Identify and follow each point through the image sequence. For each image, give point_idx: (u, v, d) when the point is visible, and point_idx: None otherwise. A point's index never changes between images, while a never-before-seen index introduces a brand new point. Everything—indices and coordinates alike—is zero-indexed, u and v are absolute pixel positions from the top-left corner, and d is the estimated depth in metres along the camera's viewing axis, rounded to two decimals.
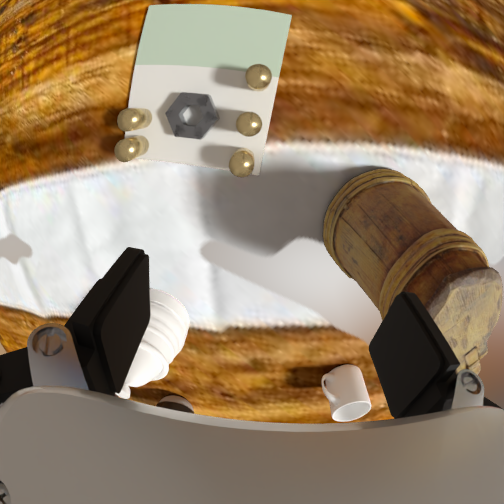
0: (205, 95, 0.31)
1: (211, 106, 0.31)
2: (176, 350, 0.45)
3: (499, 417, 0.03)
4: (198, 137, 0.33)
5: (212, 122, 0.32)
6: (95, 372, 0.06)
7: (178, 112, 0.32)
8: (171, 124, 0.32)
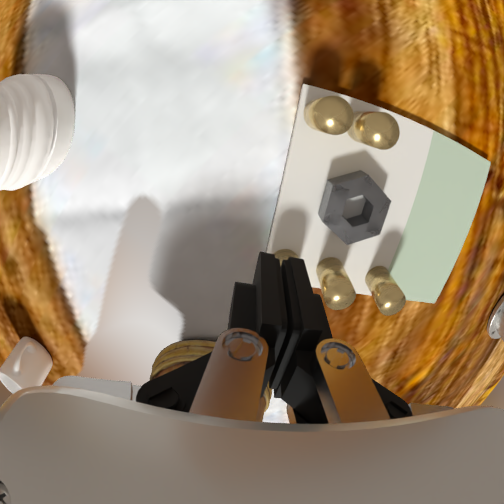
0: (379, 232, 0.25)
1: (364, 238, 0.25)
2: None
3: (499, 417, 0.03)
4: (325, 219, 0.25)
5: (343, 238, 0.25)
6: None
7: (365, 193, 0.23)
8: (351, 182, 0.23)
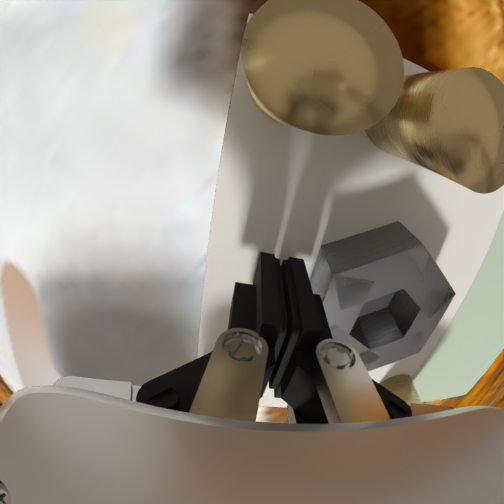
0: (419, 348, 0.11)
1: (388, 362, 0.11)
2: None
3: (499, 417, 0.03)
4: None
5: None
6: None
7: (408, 286, 0.09)
8: (380, 265, 0.09)
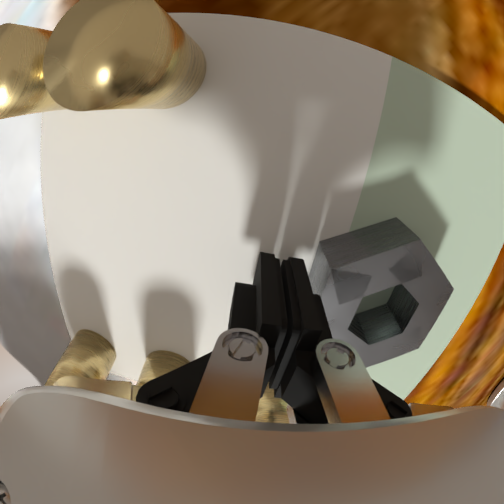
0: (418, 344, 0.11)
1: (387, 358, 0.11)
2: None
3: (499, 417, 0.03)
4: None
5: None
6: None
7: (406, 281, 0.09)
8: (377, 260, 0.09)
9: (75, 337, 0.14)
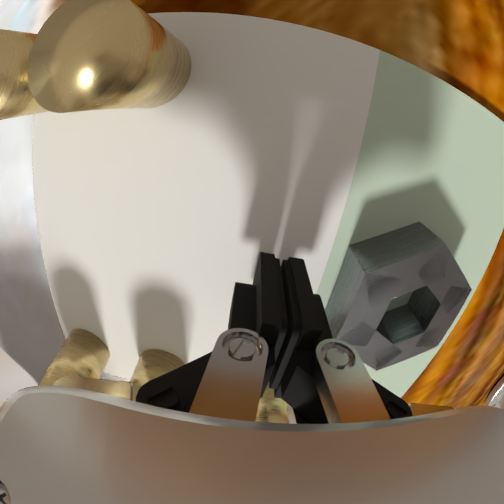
0: (437, 342, 0.11)
1: (409, 356, 0.11)
2: None
3: (499, 417, 0.03)
4: (341, 338, 0.11)
5: (371, 363, 0.12)
6: None
7: (430, 282, 0.10)
8: (407, 263, 0.09)
9: (69, 336, 0.13)
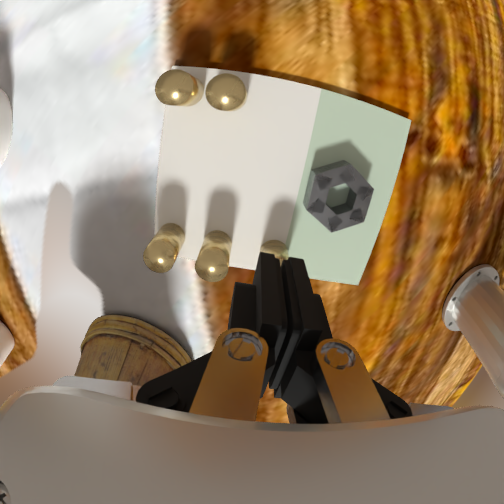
0: (363, 219, 0.26)
1: (348, 225, 0.26)
2: None
3: (499, 417, 0.03)
4: (309, 207, 0.25)
5: (327, 226, 0.26)
6: None
7: (347, 182, 0.24)
8: (333, 171, 0.24)
9: (162, 226, 0.28)
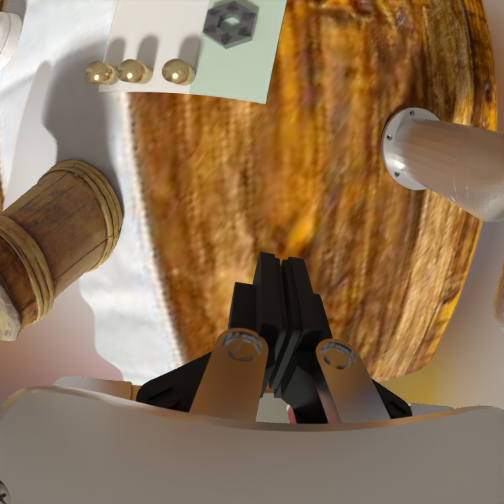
0: (250, 34, 0.26)
1: (237, 39, 0.26)
2: None
3: (499, 417, 0.03)
4: (204, 30, 0.26)
5: (220, 41, 0.27)
6: None
7: (233, 11, 0.24)
8: (221, 6, 0.24)
9: None
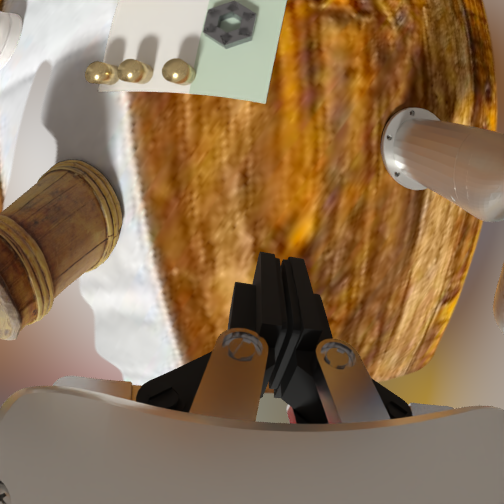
0: (250, 34, 0.26)
1: (237, 39, 0.26)
2: None
3: (499, 417, 0.03)
4: (205, 29, 0.26)
5: (220, 41, 0.27)
6: None
7: (233, 11, 0.24)
8: (221, 6, 0.24)
9: None
